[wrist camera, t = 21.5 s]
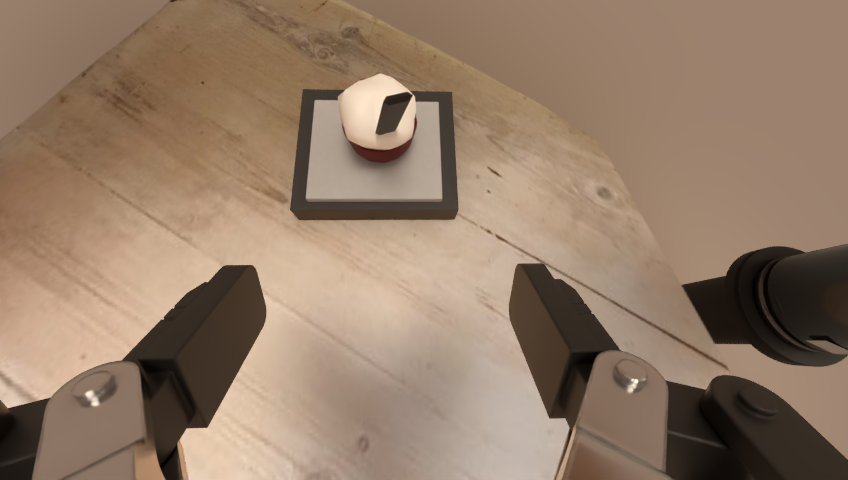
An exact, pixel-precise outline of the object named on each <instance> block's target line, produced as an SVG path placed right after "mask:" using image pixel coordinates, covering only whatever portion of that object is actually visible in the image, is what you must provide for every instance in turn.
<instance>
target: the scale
mask: <svg viewBox="0 0 848 480" xmlns="http://www.w3.org/2000/svg"><path fill="white" fill-rule="evenodd" d="M344 91H345V90H309V89H303V94H302V104H301V113H300V123H299V132H298V141H297V151H296V160H295V170H294V179H293V189H292V198H291V207H290V210H291V211H292V212H293V213H294V215H295V216H296V217H297V218H298V219H299V220H360V219H455V217H456V214H457V212H458V194H457V176H456V158H455V140H454V122H453V104H452V92H420V91H410V92H411V93H412V94H413V95H414V96H415V101H416V118H417V127H416V131H415V134H414V137H413V139H412V142H411V144H410V146H409V148H408V149H407V151H406V152H404V153H403V154H402V155H401V156H400V157H399V158H398V159H396V160H392V161H389V162H386V163H380V162H371V161H369V160H367V159H365V158H364V157H362V156H360V155H359V154H358V153H357V152H356V151H355V150H354V148H353V147H352V145H351V144H350V142H349V141H348V139H347V138H346V137H345V135H344V132H343V129H342V121H341V118H340V113H339V104H338V96H339V95H340V94H341V93H343V92H344Z"/></svg>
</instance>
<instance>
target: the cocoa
mask: <svg viewBox="0 0 848 480" xmlns="http://www.w3.org/2000/svg"><path fill="white" fill-rule="evenodd" d="M338 104H339V113H340V118H341V121H342V129H343V132H344V135H345V137H346V138H347V139H348V141H349V142H350V144H351V145H352V147H353V148H354V150H355V151H356V152H357V153H358V154H359V155H360V156H362V157H364V158H365V159H367V160H369V161H371V162H380V163H386V162H389V161H392V160H396V159H398V158H399V157H400V156H401V155H402V154H403V153H404V152H406V151H407V149H408V148H409V146H410V144H411V142H412V139H413V137H414V134H415V131H416V127H417V118H416V101H415V96H414V95H413V94H412V93H411V92H410V91H409V90H408V89H407V88H405V87H404V86H403V85H402V84H400V83H399V82H397V81H396V80H395V79H393V78H392V77H389V76H386V75H383V74H378V75H375V76H373V77H370V78H367V79H366V78H365V79H361V80H360V81H358V82H356V83H355V84H353V85H352V86H350V87H349V88H348V89H346V90H345V91H344V92H343V93H341V94H340V95H339V96H338Z"/></svg>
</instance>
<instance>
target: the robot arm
mask: <svg viewBox="0 0 848 480" xmlns="http://www.w3.org/2000/svg"><path fill="white" fill-rule="evenodd" d="M752 292H753V299H754V303H755V306H756V309H757V311H758V313H759V315H760V317H761V319H762V320H763V322H764V323H765V324H766V326H767V327H768V328H769V329H770V330H771V332H772V333H773V334H775V335H776V336H777V337H778V338H779V339H780V340H782V341H783V342H785V343H786V344H788V345H790V346H792V347H794V348H796V349H798V350H801V351H805V352H811V353H834V354H848V244H844V245H840V246H835V247H830V248H826V249H821V250H816V251H811V252H807V253H803V254H798V255H790V256H784V257H779V258H775V259H772V260H769V261H767V262H766V263H764V264H763V265H762V266H761V267H760V268H759V269H758V270H757V272H756V274H755V277H754V280H753V286H752ZM509 315H510V321H511V324H512V326H513V329H514V331H515V334H516V336H517V339H518V341H519V344H520V346H521V349H522V351H523V354H524V356H525V359H526V361H527V364H528V366H529V369H530V371H531V374H532V376H533V379H534V381H535V384H536V386H537V389H538V391H539V394H540V396H541V399H542V401H543V404H544V406H545V409H546V411H547V413H548V416H549V418H550V419H551V418H566V421H567V423H568V425H569V427H570V429H569V432H568V434H567V437H566V441H565V444H564V447H563V450H562V454H561V457H560V460H559V463H558V467H557V470H556V473H555V476H554V479H553V480H848V460H847V459H846V458H845V457H844V456H843V455H842V454H841V453H840V452H839V451H838V450H837V449H836V448H835V447H834V446H833V445H831V444H830V443H829V442H828V441H827V440H826V439H825V438H824V437H823V436H822V435H821V434H820V433H819V432H818V431H817V430H816V429H814V428H813V427H812V426H811V425H810V424H809V423H808V422H807V421H806V420H805V419H804V418H803V417H802V416H801V415H799V413H798V412H797V411H795V410H794V409H793V408H792V407H791V406H790V405H789V404H788V403H787V402H786V401H784V400H783V399H782V398H780V397H779V396H778V395H776V394H775V393H773V392H772V391H770V390H768V389H767V388H765V387H763V386H761V385H759V384H757V383H754V382H752V381H750V380H747V379H744V378H740V377H736V376H730V375H721V376H717V377H715V378H714V379H713V380H712V381H711V383H710V384H709V386H708V387H707V389H706V390H704V389H699V388H695V387H691V386H687V385H682V384H678V383H674V382H670V381H666V380H665V379H664V378H663V376H662V375H661V374H660V373H659V372H658V371H657V370H656V369H655V368H654V367H653V366H652V365H651V364H649V363H648V362H646V361H645V360H643V359H641V358H639V357H637V356H635V355H633V354H630V353H627V352H623V351H621V350H620V349H619V348H618V346H617V345H616V344H615V342H614V341H613V340H612V338H611V337H610V336H609V334H608V333H607V332H606V330H605V329H604V328H603V326H602V325H601V324H600V322H599V321H598V319H597V318H596V317H595V315H594V314H592V313H591V310H590V309H589V307H588V306H587V305H586V304H584V301H583V299H582V298H581V297H580V295H579V294H578V293H577V291H576V290H575V289H574V288H572V287H571V286H570V285H568V284H567V283H565V282H564V281H563V280H561V279H554V278H553V276H552V275H551V273H550V272H549V271H548V269H547V268H546V266H545V265H544V264H542V263H538V264H518V265H517V266H516V269H515V274H514V279H513V285H512V291H511V296H510V302H509ZM265 319H266V305H265V301H264V297H263V293H262V289H261V286H260V282H259V278H258V274H257V271H256V269H255V267H254V266H252V265H226V266H223V267H222V268H221V269H220V270H219V271H218V272H217V273H216V274H215V275H214V276H213V277H212V279H211V280H210V281H209V282H204V283H203V284H201V285H200V286H198V287H196V288H195V289H193V290H191V291H190V292H188V293H187V294H186V295H185V296H184V297H183V298H182V299H181V300H180V301H179V302H178V303H177V304H176V305H175V308H174V309H171V310H170V311H169V312H168V313H167V314H166V315H165V316H164V320H161V321H160V322H159V323H158V324H157V325H156V326H155V327H154V328H153V329H152V330H151V331H150V332H149V333H148V334H147V335H146V336H145V337H144V338H143V339H142V340H141V341H140V342H139V343H138V344H137V345H136V346H135V347H134V348H133V349H132V350H131V351H130V353H129V354H128V355H127V356H126V357H125V358H124V359H123V360H122V361H115V362H110V363H106V364H102V365H99V366H96V367H94V368H92V369H89V370H87V371H85V372H83V373H81V374H80V375H78V376H76V377H74V378H73V379H71V380H70V381H68V382H67V383H66V384H64V385H63V386H62V387H61V388H60V389H59V390H58V391H57V392H56V393H55V394H54V395H53V396H52V397H51V398H48V399H44V400H40V401H36V402H32V403H28V404H24V405H20V406H16V407H12V408H7V407H6V406H5V405H4V404H3V403H2V401H1V400H0V480H188V474H187V469H186V463H185V458H184V452H183V447H182V444H181V442H180V441H179V440H180V438H181V436H182V435H183V433H184V432H185V430H186V428H207V427H208V426H209V424H210V422H211V420H212V418H213V416H214V415H215V413H216V411H217V409H218V407H219V406H220V404H221V402H222V400H223V398H224V397H225V395H226V393H227V391H228V389H229V388H230V386H231V384H232V382H233V380H234V378H235V377H236V375H237V373H238V371H239V369H240V368H241V366H242V364H243V362H244V360H245V359H246V357H247V355H248V353H249V351H250V350H251V348H252V346H253V344H254V342H255V341H256V339H257V337H258V335H259V333H260V331H261V330H262V328H263V326H264V323H265Z"/></svg>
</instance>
